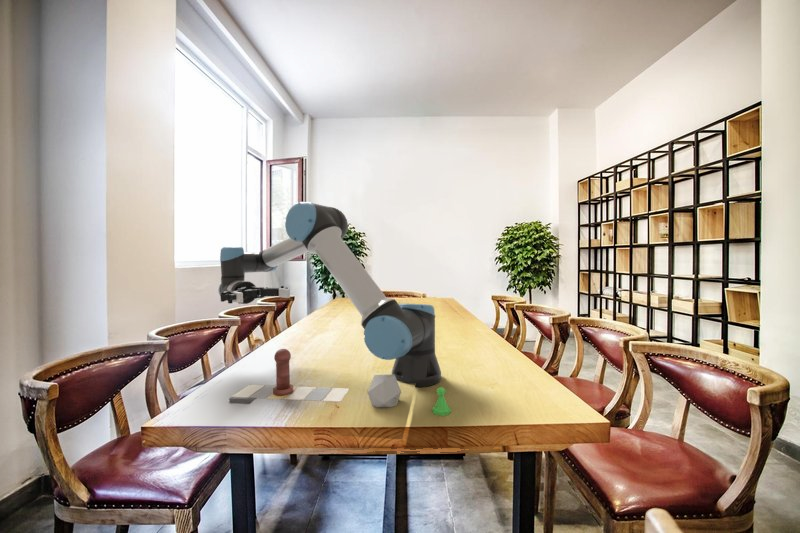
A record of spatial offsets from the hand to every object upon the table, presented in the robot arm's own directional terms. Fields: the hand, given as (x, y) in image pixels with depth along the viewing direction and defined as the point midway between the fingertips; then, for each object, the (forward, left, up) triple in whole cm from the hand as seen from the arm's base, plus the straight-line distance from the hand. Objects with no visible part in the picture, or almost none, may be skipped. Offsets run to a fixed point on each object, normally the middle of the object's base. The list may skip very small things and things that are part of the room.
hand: (266, 295), depth 99 cm
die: (-36, +10, -27) cm, 46 cm away
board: (-10, +6, -27) cm, 29 cm away
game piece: (-50, +11, -27) cm, 58 cm away
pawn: (-8, +6, -25) cm, 27 cm away
